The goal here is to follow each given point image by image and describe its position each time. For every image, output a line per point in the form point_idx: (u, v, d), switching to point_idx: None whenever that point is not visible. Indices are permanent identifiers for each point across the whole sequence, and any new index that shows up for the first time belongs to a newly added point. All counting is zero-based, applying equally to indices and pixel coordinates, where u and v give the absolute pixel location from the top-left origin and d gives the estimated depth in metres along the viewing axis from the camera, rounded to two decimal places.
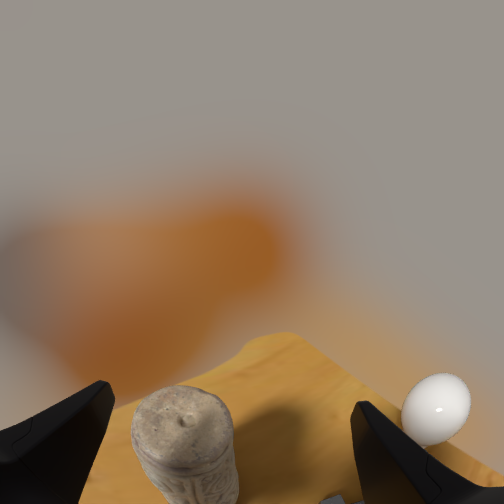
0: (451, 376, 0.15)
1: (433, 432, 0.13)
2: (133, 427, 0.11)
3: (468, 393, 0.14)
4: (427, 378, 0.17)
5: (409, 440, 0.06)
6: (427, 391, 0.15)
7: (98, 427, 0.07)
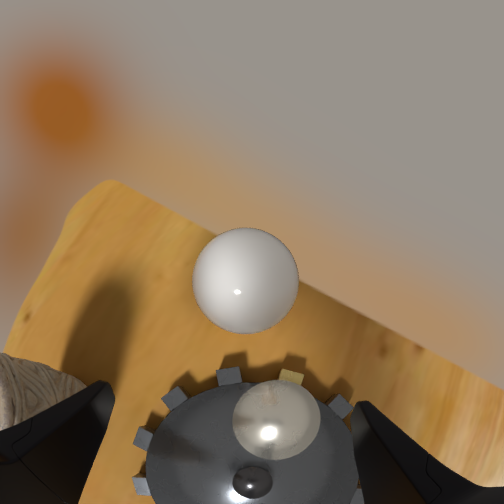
0: (244, 241, 0.14)
1: (234, 328, 0.15)
2: None
3: (281, 268, 0.14)
4: (210, 244, 0.15)
5: (408, 440, 0.06)
6: (204, 272, 0.14)
7: (98, 427, 0.07)
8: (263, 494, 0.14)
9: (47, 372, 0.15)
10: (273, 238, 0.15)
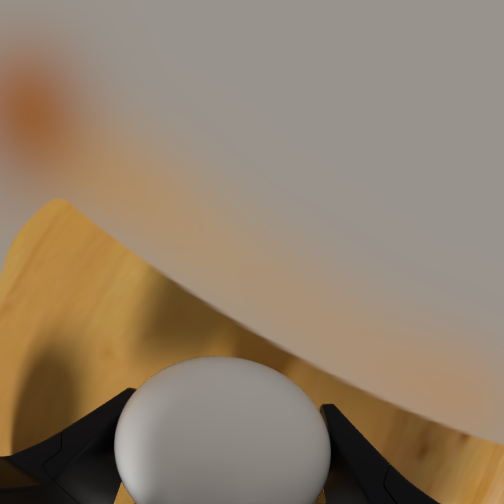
0: (206, 444, 0.04)
1: None
2: None
3: (298, 489, 0.04)
4: (133, 413, 0.05)
5: (371, 448, 0.06)
6: (126, 478, 0.04)
7: None
8: None
9: None
10: (283, 410, 0.05)
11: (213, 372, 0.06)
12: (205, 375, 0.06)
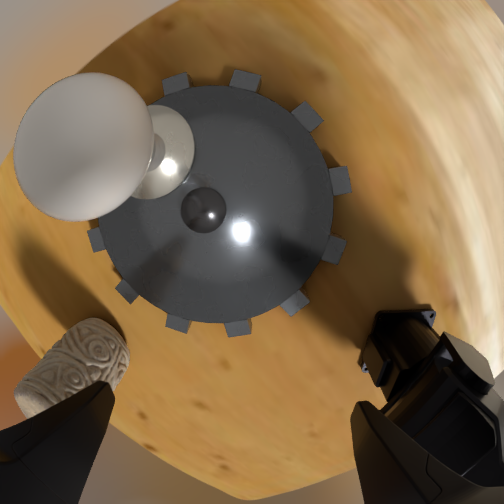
0: (22, 133, 0.06)
1: (120, 195, 0.09)
2: None
3: (72, 97, 0.06)
4: (16, 175, 0.07)
5: (409, 440, 0.06)
6: (35, 201, 0.07)
7: (98, 427, 0.07)
8: (223, 207, 0.17)
9: (51, 349, 0.17)
10: (45, 90, 0.06)
11: None
12: None
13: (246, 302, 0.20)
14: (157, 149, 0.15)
